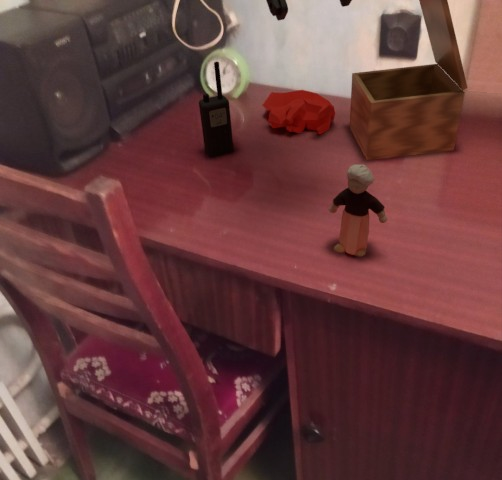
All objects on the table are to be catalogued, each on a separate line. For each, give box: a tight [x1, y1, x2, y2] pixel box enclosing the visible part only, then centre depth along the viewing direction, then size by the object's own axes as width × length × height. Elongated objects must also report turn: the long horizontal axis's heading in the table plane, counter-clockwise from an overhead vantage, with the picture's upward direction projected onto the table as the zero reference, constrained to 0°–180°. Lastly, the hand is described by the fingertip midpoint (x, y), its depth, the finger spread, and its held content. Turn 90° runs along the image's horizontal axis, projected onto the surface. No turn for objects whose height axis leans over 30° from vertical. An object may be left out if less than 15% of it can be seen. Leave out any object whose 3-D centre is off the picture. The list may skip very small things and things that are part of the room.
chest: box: [349, 63, 465, 161], centre depth 98 cm, size 15×13×10 cm
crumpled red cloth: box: [262, 89, 336, 135], centre depth 107 cm, size 12×15×5 cm
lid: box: [418, 0, 468, 91], centre depth 88 cm, size 15×13×5 cm
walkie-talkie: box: [198, 61, 235, 158], centre depth 97 cm, size 5×3×15 cm
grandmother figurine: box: [328, 163, 388, 257], centre depth 74 cm, size 8×4×13 cm, turn 73°
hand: (316, 9), depth 68 cm, fingers open, 8 cm apart
